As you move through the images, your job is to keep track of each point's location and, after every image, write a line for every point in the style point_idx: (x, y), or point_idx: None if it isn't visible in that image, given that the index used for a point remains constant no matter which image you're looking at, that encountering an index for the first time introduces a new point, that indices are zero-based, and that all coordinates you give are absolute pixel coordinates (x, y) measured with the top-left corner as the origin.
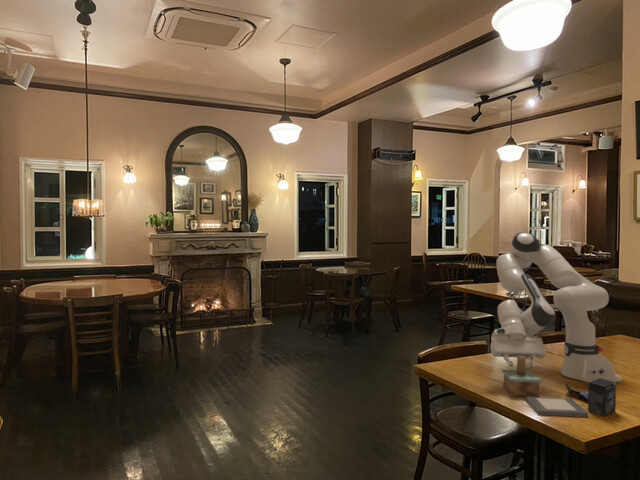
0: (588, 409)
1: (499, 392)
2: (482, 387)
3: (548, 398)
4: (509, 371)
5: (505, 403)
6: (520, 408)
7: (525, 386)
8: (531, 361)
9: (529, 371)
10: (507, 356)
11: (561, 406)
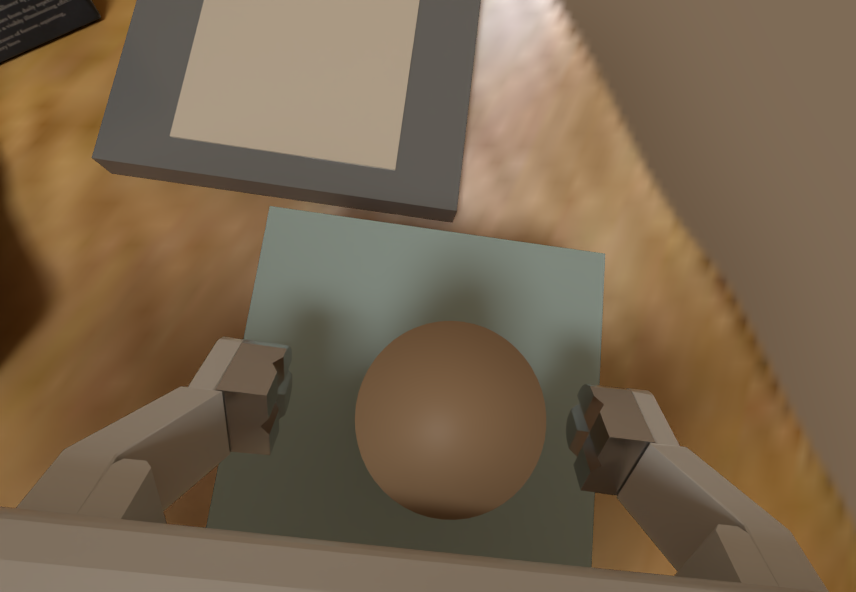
0: (93, 6)
1: None
2: None
3: (290, 165)
4: (521, 535)
5: (618, 179)
6: (549, 94)
7: None
8: (241, 391)
9: None
10: (728, 530)
11: (286, 13)
